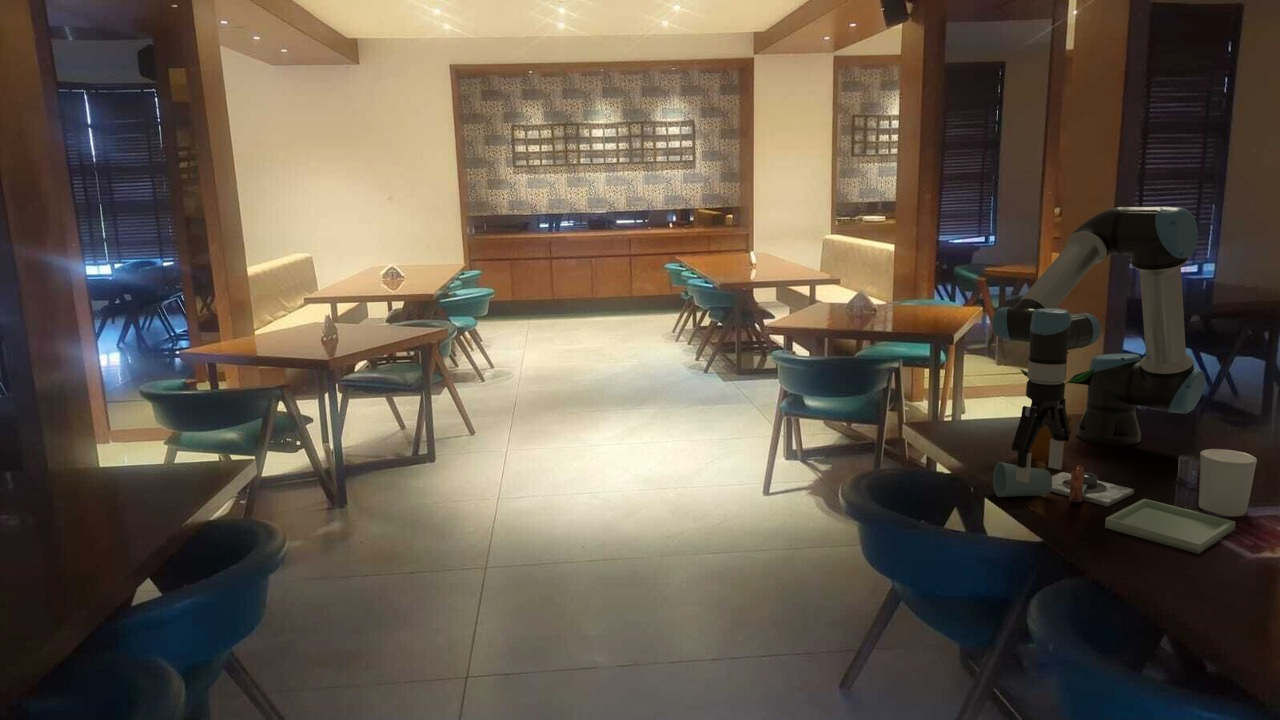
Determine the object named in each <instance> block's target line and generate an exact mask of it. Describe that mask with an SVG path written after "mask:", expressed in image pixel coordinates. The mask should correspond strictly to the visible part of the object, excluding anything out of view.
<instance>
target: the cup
mask: <svg viewBox="0 0 1280 720" xmlns="http://www.w3.org/2000/svg"><path fill="white" fill-rule="evenodd" d="M1016 469H1017V464H1012V463H1007V462H1006V463H1005V462H1001V461H1000V462H997V464H996V465H995V467H994V470H993V477H992V479H993V480H992V482H993V483H992V484H993V491H994V493H995V495H996V496H997V497H999V498H1006V497H1007V498H1008V497H1029V496H1030V497H1033V496H1035V497H1038V496H1048V495H1049V494H1050V493H1051V492H1050V491H1051V488H1052V474H1051V472H1050V471H1049V470H1047V469H1042V468H1037V467H1031V469H1030V482H1029V483H1026V482H1022V481H1018V480H1016Z"/></svg>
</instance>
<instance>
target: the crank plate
mask: <svg viewBox="0 0 1280 720" xmlns="http://www.w3.org/2000/svg"><path fill="white" fill-rule="evenodd" d="M1051 477H1052V488H1051V491H1050V493H1054V494H1058V495H1061V496H1066V497H1069V496H1070V483H1071V473H1069V472H1066V471H1065V472H1064V471H1062V472H1059V473H1056V474H1054V475H1051ZM1134 491H1135V488H1130V487H1126V486H1121V485H1117V484H1113V483H1108V482H1106V481H1101V480H1099V479H1098V480H1097V488H1095V489H1088V490H1087V492H1086V494H1085V495H1084V497H1083V499H1082V501H1085V502H1088V503H1092V504H1096V505H1100V506H1103V507H1110V506H1112V505H1114V504H1116V503H1118V502H1121V501H1122V500H1124V499H1126V498H1129V497H1130V496H1132V495H1134V493H1135V492H1134Z"/></svg>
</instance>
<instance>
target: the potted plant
mask: <svg viewBox="0 0 1280 720" xmlns="http://www.w3.org/2000/svg"><path fill="white" fill-rule="evenodd" d="M1068 354H1070V352H1069V351H1068V353H1067V355H1068ZM1019 370H1020V372H1021V373H1022V374H1023V376H1025V377H1027V376H1028V371H1026V370H1024V369H1022V368H1019ZM1093 372H1094V369H1092V370H1089V369H1088V370H1086V371H1084V372H1080V373H1078V374H1075V375H1073V376H1072V377H1071V378H1070V379H1069V380H1068V381H1066V382H1064V384H1065V385H1067V384H1076V385H1083V386H1088V385H1090V382H1091V379H1092V375H1093ZM1027 379H1028V380H1030V379H1029V378H1028V377H1027ZM1020 419H1021V416H1020V418H1019V420H1020ZM1067 419H1068V424H1069V429H1070V435H1071V433H1072V431H1073V429H1074V425H1075V421H1074V420H1073V418H1072V417H1068V416H1067ZM1063 430H1065V429H1063ZM1070 435H1069V437H1070ZM1050 439H1055V438H1053V437H1052V434H1051V432H1050V430H1049V428H1048V425H1047V423H1046V424H1044V426H1043V427H1042V428H1040V430H1039V432H1038V434H1037V436H1036V438H1035V440H1034V443H1033V445H1032V447H1031V449H1030V451H1029V453H1032V455H1031V460H1034V461H1039V462H1042V463H1043V462H1045V463H1046V462H1047V463H1049V450H1050ZM1067 443H1068V441H1064V446H1063V453H1064V451H1065V449H1066V446H1067Z"/></svg>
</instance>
